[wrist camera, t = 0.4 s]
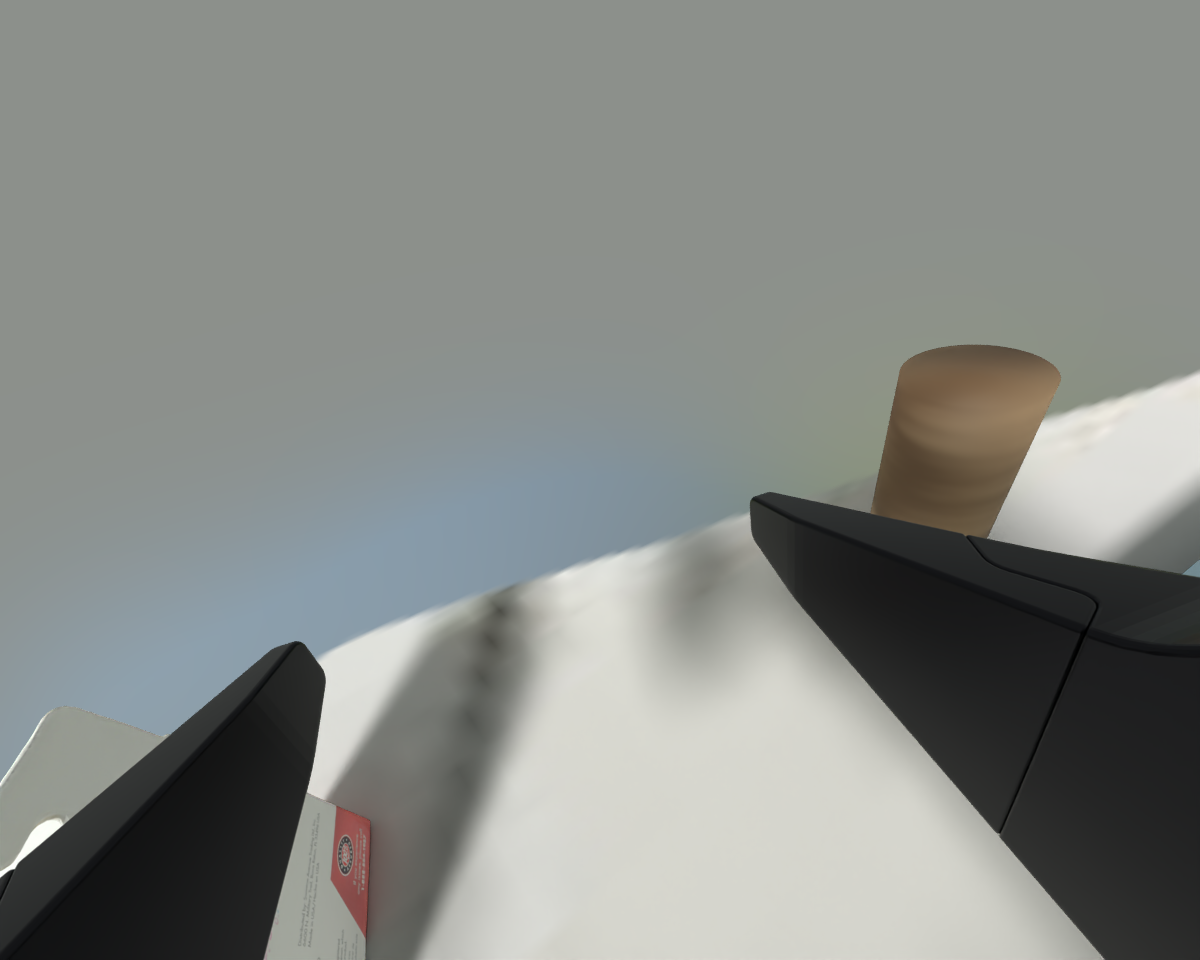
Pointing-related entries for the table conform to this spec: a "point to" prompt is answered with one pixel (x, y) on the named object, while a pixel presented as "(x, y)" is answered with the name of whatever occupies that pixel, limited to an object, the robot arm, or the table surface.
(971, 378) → the walnut peg
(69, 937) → the robot arm
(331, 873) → the ink cartridge box
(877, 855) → the table surface
